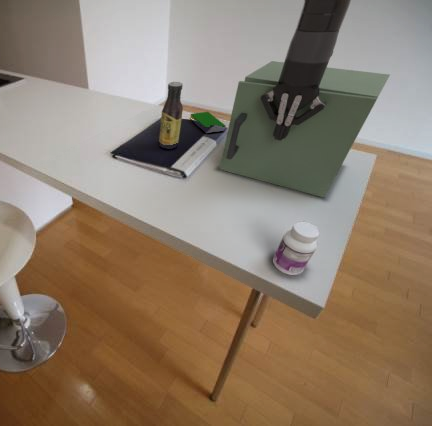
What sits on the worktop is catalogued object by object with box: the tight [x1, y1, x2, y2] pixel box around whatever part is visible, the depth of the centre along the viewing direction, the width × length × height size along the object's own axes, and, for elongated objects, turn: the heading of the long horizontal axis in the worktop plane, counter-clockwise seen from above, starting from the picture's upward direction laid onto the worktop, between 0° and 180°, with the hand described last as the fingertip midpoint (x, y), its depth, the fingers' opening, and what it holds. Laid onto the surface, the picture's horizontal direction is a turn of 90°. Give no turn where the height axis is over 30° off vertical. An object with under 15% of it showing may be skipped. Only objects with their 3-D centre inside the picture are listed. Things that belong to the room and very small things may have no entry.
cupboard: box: [244, 60, 391, 99], centre depth 75 cm, size 18×26×24 cm
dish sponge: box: [189, 111, 226, 128], centre depth 105 cm, size 7×14×2 cm, turn 12°
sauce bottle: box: [158, 81, 184, 145], centre depth 88 cm, size 6×6×20 cm
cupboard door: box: [218, 80, 378, 198], centre depth 67 cm, size 7×26×24 cm, turn 55°
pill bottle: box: [272, 221, 321, 276], centre depth 52 cm, size 5×5×10 cm
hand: (278, 138), depth 67 cm, fingers closed
